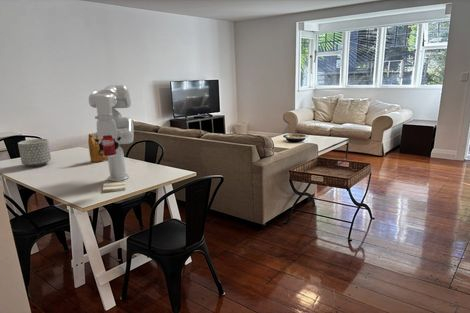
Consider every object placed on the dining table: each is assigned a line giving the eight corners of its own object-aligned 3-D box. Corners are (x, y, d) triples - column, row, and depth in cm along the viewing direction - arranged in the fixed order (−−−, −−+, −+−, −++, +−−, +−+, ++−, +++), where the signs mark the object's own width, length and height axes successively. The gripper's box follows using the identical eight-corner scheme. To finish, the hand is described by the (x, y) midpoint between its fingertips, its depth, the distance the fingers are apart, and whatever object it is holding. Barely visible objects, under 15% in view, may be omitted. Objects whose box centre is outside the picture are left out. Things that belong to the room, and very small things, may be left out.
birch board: (104, 185, 195) (103, 183, 195) (125, 183, 199) (124, 181, 198) (102, 192, 184) (102, 190, 184) (125, 189, 188) (125, 187, 187)
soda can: (115, 156, 180) (112, 135, 177) (101, 157, 180) (98, 135, 177) (118, 153, 187) (116, 132, 184) (105, 154, 187) (102, 133, 184)
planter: (35, 169, 233) (30, 144, 229) (16, 167, 240) (11, 143, 235) (57, 162, 251) (53, 139, 246) (39, 161, 257) (35, 138, 253)
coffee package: (110, 160, 254) (107, 132, 248) (94, 163, 245) (90, 134, 240) (105, 158, 261) (101, 130, 255) (89, 161, 252) (85, 133, 247)
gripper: (87, 120, 172) (92, 152, 177) (122, 117, 177) (125, 149, 182) (88, 118, 179) (93, 149, 184) (122, 116, 184) (125, 146, 189)
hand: (109, 149), depth 183 cm, fingers closed on soda can, 7 cm apart
